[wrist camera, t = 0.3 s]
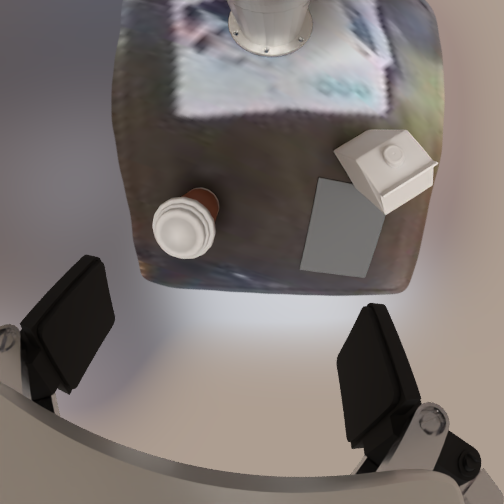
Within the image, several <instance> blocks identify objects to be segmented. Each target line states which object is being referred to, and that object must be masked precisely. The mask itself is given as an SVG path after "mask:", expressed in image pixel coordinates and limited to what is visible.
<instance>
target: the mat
mask: <svg viewBox="0 0 504 504" xmlns="http://www.w3.org/2000/svg"><path fill="white" fill-rule="evenodd" d="M384 218H385V214H384V213H383V212H382V211H381V210H380V209H378V208H377V207H376V206H375V205H374V204H373V203H372V202H371V201H370V200H369V199H367V198H366V197H365V196H364V195H363V194H362V193H361V192H359V191H358V190H357V189H356V188H355V186H354V185H353V184H351V183H346V182H341V181H336V180H331V179H326V178H320V177H318V182H317V188H316V193H315V198H314V203H313V208H312V213H311V218H310V223H309V228H308V232H307V237H306V242H305V246H304V251H303V255H302V259H301V264H300V270H307V271H315V272H322V273H330V274H338V275H346V276H354V277H362V278H365V276H366V273H367V270H368V268H369V265H370V262H371V259H372V256H373V253H374V250H375V247H376V244H377V241H378V238H379V235H380V232H381V228H382V225H383V222H384Z"/></svg>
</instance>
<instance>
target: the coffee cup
mask: <svg viewBox="0 0 504 504" xmlns="http://www.w3.org/2000/svg"><path fill="white" fill-rule="evenodd" d="M219 208H220V207H219V200H218V199H217V197H216V195H215V194H214V193H213V192H211V191H210V190H209V189H205V188H202V187H201V188H194V189H192V190H190V191H189V192H188V193H186V194H185V195H183V196H181V197H176V198H171V199H169V200H168V201H166V202H164V203H163V204H161V205H160V207H159V208H158V210H157V211H156V213H155V214H154V219H153V226H152V227H153V231H154V235H155V238H156V240H157V242H158V244H159V245H160V247H161V248H162V249H163V250H164V251H165V252H167V253H168V254H169V255H171V256H174V257H177V258H182V259H190V258H196V257H198V256H200V255H203V254H205V253H206V251H207V250H208V249H209V248H210V247H211V246H212V244H213V241H214V237H215V233H216V229H215V220H216V217H217V215H218V211H219Z"/></svg>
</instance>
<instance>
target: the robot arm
mask: <svg viewBox="0 0 504 504" xmlns="http://www.w3.org/2000/svg"><path fill="white" fill-rule="evenodd" d="M226 1H227V3H228V5H229V7H230V9H231V12H230V15H229V18H228V26H229V31H230V33H231V35H232V37H233V39H234V40H235V41H236V43H237V44H238V45H239V46H241V47H242V48H243V49H245V50H246V51H249V52H251V53H253V54H256V55H259V56H266V57H278V56H284V55H287V54H290V53H292V52H294V51H296V50H298V49H299V48H301V47H302V46H303V45H304V44H305V43H306V42H307V40H308V39H309V37H310V35H311V32H312V27H313V22H312V17H311V14H310V12H309V10H308V6H309V3H310V0H226ZM236 34H238V35H237V36H236ZM299 40H302V42H299ZM265 51H268V53H265ZM114 321H115V315H114V311H113V307H112V302H111V298H110V293H109V288H108V283H107V278H106V272H105V267H104V264H103V263H102V262H101V260H100V258H98V257H95V256H90V255H84V256H83V257H82V258H81V259H80V260H79V261H78V262H77V263H76V264H75V265H74V266H73V267H72V268H71V269H70V270H69V271H68V272H67V273H66V274H65V275H64V276H63V277H62V278H61V279H60V280H59V281H58V282H57V283H56V284H55V285H54V286H53V287H52V288H51V289H50V290H49V291H48V292H47V293H46V294H45V295H44V297H43V298H42V299H41V300H40V301H39V302H38V303H37V304H36V305H35V307H34V308H33V309H32V310H31V311H30V312H29V313H28V315H27V316H26V317H25V318H24V319H23V320H22V322H21V323H20V325H21V327H22V330H21V331H19V329H18V328H17V327H16V326H15V325H11V324H7V325H3V326H0V504H503V502H504V500H503V495H502V492H501V491H500V490H499V488H498V487H497V486H496V484H495V483H494V481H493V480H492V479H491V477H490V476H489V475H488V473H487V472H486V471H485V469H484V468H483V469H481V470H480V468H481V458H480V455H479V453H478V451H477V450H476V449H475V448H474V447H472V446H471V445H469V444H468V443H466V442H465V441H463V440H462V439H460V438H459V437H458V436H456V435H455V434H453V433H452V432H450V431H449V418H448V416H447V413H446V412H445V411H444V409H443V408H442V407H441V406H439V405H438V404H435V403H431V402H427V403H423V404H421V401H420V399H421V396H420V393H419V390H418V387H417V384H416V381H415V378H414V375H413V373H412V370H411V367H410V364H409V362H408V359H407V356H406V354H405V351H404V349H403V346H402V344H401V341H400V339H399V336H398V334H397V331H396V329H395V326H394V324H393V322H392V319H391V317H390V315H389V313H388V310H387V308H386V306H385V305H384V304H375V303H369V304H368V305H367V306H365V307H363V308H362V310H361V312H360V314H359V316H358V318H357V320H356V322H355V324H354V326H353V328H352V330H351V332H350V334H349V336H348V338H347V340H346V342H345V343H344V345H343V347H342V349H341V351H340V353H339V355H338V357H337V370H338V376H339V383H340V389H341V396H342V404H343V411H344V419H345V428H346V437H347V440H348V442H351V447H352V449H355V448H364V453H365V455H364V457H363V458H362V460H361V461H360V462H359V464H358V465H357V467H356V468H355V469H354V471H353V472H352V473H351V474H350V475H343V476H327V477H275V476H259V475H249V474H240V473H232V472H225V471H219V470H213V469H207V468H202V467H197V466H192V465H188V464H183V463H179V462H175V461H171V460H167V459H164V458H160V457H157V456H153V455H150V454H147V453H144V452H141V451H137V450H135V449H132V448H129V447H126V446H124V445H121V444H118V443H116V442H113V441H111V440H108V439H105V438H103V437H101V436H99V435H96V434H94V433H91V432H89V431H87V430H85V429H83V428H81V427H79V426H77V425H75V424H73V423H71V422H69V421H67V420H65V419H63V418H61V417H60V414H59V409H58V404H57V400H56V395H55V391H56V390H57V388H58V389H59V390H62V391H63V392H65V393H67V394H69V395H70V393H71V391H72V389H75V388H76V387H77V386H78V384H79V382H80V381H81V379H82V377H83V375H84V373H85V372H86V370H87V368H88V366H89V364H90V363H91V361H92V359H93V358H94V356H95V354H96V352H97V351H98V349H99V347H100V346H101V344H102V342H103V341H104V339H105V337H106V336H107V334H108V333H109V331H110V329H111V328H112V326H113V324H114Z"/></svg>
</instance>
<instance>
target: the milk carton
mask: <svg viewBox="0 0 504 504" xmlns="http://www.w3.org/2000/svg"><path fill="white" fill-rule="evenodd" d="M333 152H334V153H335V155H336V157H337V158H338V160H339V161H340V163H341V165H342V166H343V168H344V169H345V171H346V173H347V174H348V176H349V178H350V180H351V181H352V183H353V185H354V186H355V188H356V189H357V190H358V191H359V192H361V193H362V194H363V195H364V196H365V197H366V198H367V199H369V200H370V201H371V202H372V203H373V204H374V205H375V206H376V207H377V208H378V209H380V210H381V211H382V212H383V213H384V214H385V215H386V214H388V213H390V212H391V211H393V210H394V209H396V208H398V207H399V206H401V205H402V204H404V203H406V202H407V201H409V200H410V199H412V198H414V197H415V196H417V195H418V194H420V193H421V192H423V191H425V190H426V189H428V188H429V187H431V186H432V185H433V167H434V166H436V165H437V164H438V162H436V161H433V160H432V159H431V158H430V156H429V155H428V154H427V153H426V151H425V150H424V149H423V148H422V147H421V145H420V144H419V143H418V142H417V141H416V140H415V139H414V137H413V136H412V135H411V134H410V133H409V132H408V131H407V130H367V131H365V132H363V133H362V134H360V135H358V136H357V137H355V138H353V139H352V140H350V141H348V142H347V143H345V144H343V145H342V146H340V147H338V148H337V149H335V150H334V151H333Z"/></svg>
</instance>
